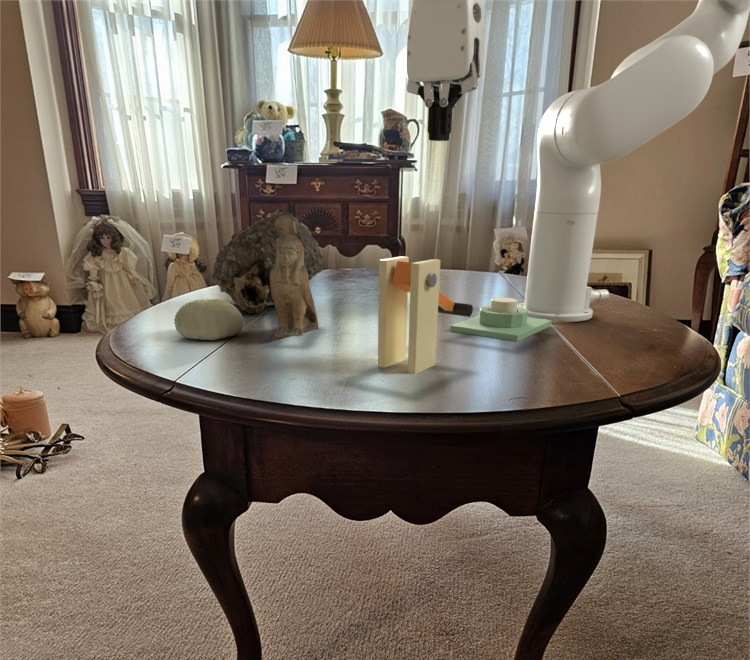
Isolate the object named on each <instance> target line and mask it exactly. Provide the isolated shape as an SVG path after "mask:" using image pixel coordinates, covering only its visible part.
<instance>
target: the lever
mask: <svg viewBox="0 0 750 660" xmlns="http://www.w3.org/2000/svg"><path fill="white" fill-rule="evenodd" d="M411 263H413V262H411V261H409V262H402V261H397V265H396V269H395V273H394V277H393V281H392V284H394V285H395V286H397V287H398V288H400V289H401V290H402V291H404V292H408V293H410V285H411ZM473 310H474V307H473V304H471V303H462V302H454V301H452V300H451V299H450V298H448V297H447V296H445V295H444V294H443V293H442V292H440V291H439V300H438V314H445V315H452V316H460V317H467V318H469V317H470V318H471V316H472V315H473Z"/></svg>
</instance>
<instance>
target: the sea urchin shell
mask: <svg viewBox="0 0 750 660" xmlns="http://www.w3.org/2000/svg"><path fill="white" fill-rule="evenodd" d="M173 320H174V322H173V324H174V328H175V330H176V331H177V333H178V334H179V335H181V336H182V337H184V338H185V339H191V340H200V341H212V342H213V341H217V340H220V339H225V338H229V337H233V336H236V335H237V334H239V333H240V332H241V331H242V329H243V327H244V318H243V315H242V313H241V311H240V310H239V309H238V308H237V307H236V306H235V305H234V304H232V303H231V302H229V301H227V300H224V299H219V298H213V299H212V298H211V299H208V298H207V299H195V300H191V301H188V302H186V303H185V304H184V305H182V306H181V307H180V308H179V309H178V310H177V312H176V314H175V315H174V319H173Z"/></svg>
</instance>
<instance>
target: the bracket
mask: <svg viewBox="0 0 750 660" xmlns="http://www.w3.org/2000/svg"><path fill="white" fill-rule="evenodd" d="M409 259H410V257H409V256H405V255H403V256H402V255H401V256H395V257H389V258H388V257H387V258H383V259H382V258H381V259H379V260H378V308H377V309H378V316H377V367H379V368H388V367H391V366H393V365H396V364H399V363H401V362H403V361H406V357H407V373H410V374H418V373H420V372H422V371H425V370H427V369H429V368H432V367H433V366H436V354H437V337H438V316H439V313H438V300H439V292H440V277H441V259H436V258H431V259H426V260H420V261H415V262H412V263H411V285H410V292H404V291H402V290H401V289H400V288H398V287H397V286H395V285H394V284H392V281H393V277H394V273H395V269H396V265H397V261H402V262H410V260H409ZM408 295H409V317H408ZM408 319H409V320H408ZM407 320H408V321H407ZM407 322H409V323H408V351H407ZM407 354H408V355H407Z"/></svg>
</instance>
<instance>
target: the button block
mask: <svg viewBox="0 0 750 660" xmlns="http://www.w3.org/2000/svg"><path fill="white" fill-rule="evenodd" d="M490 309H491V305H485V306H482V307H480V308H479V311H478V312H479V313H478V315H476V316H474V317H470V318H467V319H465V320H462V321H460V322H456V323H454V324H451V325H450V328H449V329H450V330H449V331H450V332H452V333H453V332H454V333H460V334H466V335H474V336H478V337H479V336H480V337H484V338H485V337H486V338H493V339H499V340H505V341H512V342H519V341H522V340H523V339H526V338H528V337H530V336H532V335H535V334H537V333H539V332H541V331H544V330H545V329H548V328H550V327H551V326H552V324H553V320H549V319H541V318H534V317H527V315H528V311H527V310H526V309H524V308H520V307H517V312H512V313H500V312H493V311H490Z"/></svg>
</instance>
